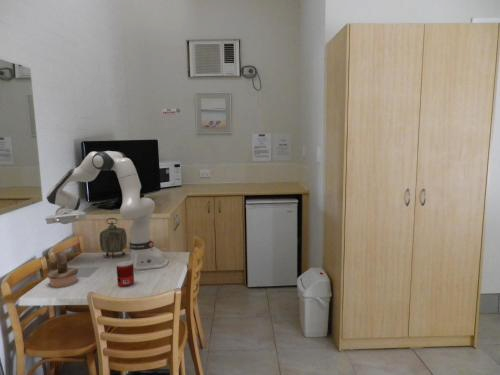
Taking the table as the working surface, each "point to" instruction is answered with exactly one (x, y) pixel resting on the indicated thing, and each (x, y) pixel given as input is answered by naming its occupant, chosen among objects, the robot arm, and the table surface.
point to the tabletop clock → (113, 239)
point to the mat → (86, 271)
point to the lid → (62, 268)
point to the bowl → (63, 281)
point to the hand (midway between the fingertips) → (67, 219)
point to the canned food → (125, 273)
